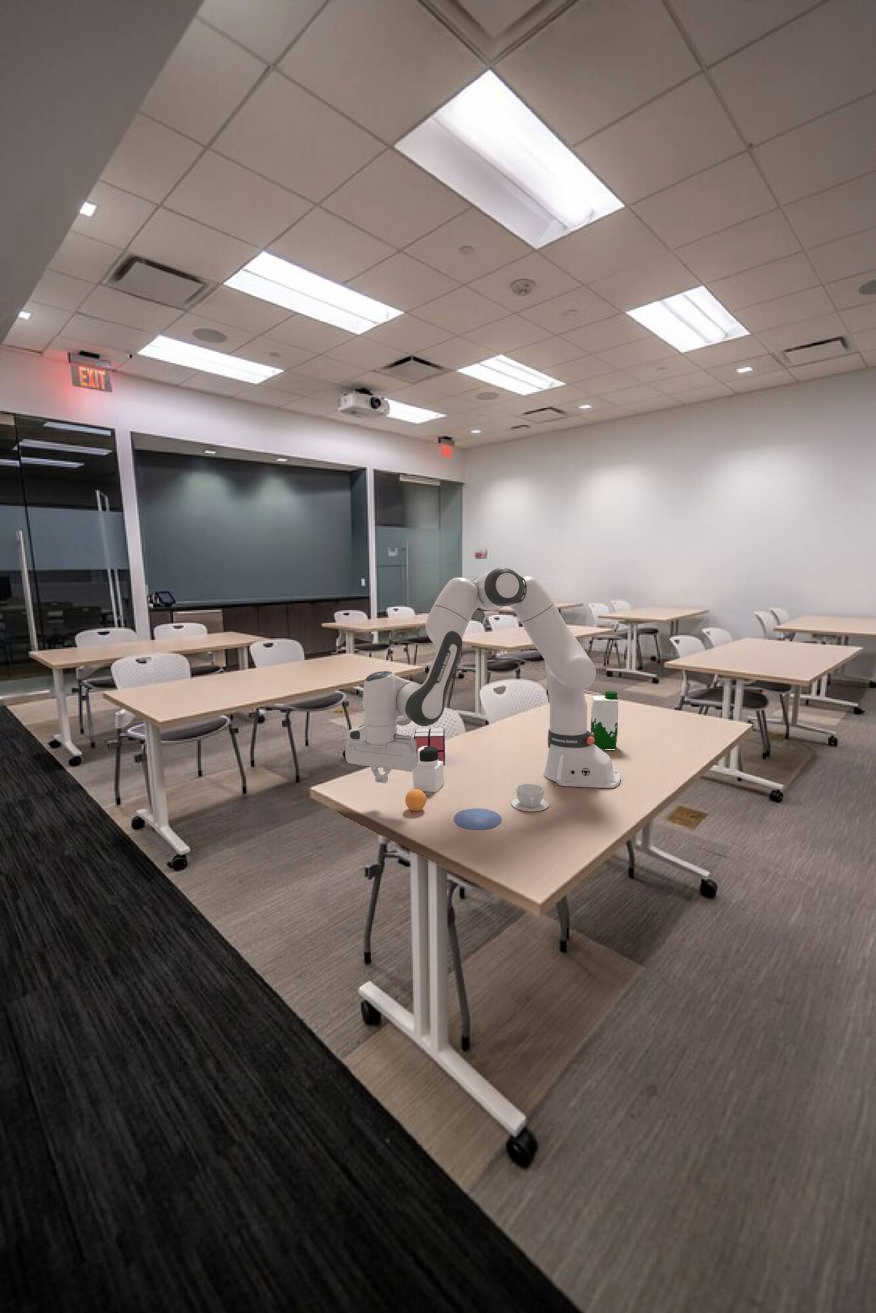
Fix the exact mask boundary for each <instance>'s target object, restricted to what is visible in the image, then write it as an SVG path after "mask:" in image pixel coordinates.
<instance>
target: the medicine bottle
mask: <svg viewBox="0 0 876 1313" xmlns="http://www.w3.org/2000/svg"><path fill="white" fill-rule="evenodd" d="M444 779H445V778H444V765H443V761H438V749H437V748H436V747H433V746H423V747H421V748H419V749H418V763H417V766H416V768H415V769H413V770H412V788H413V789H419V790H421V791H423V792H429V793H437V792H438V791H439V790H440V788H441V787H442V786H443V785H444V782H445V781H444ZM413 789H412V790H413Z"/></svg>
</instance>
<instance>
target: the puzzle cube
mask: <svg viewBox="0 0 876 1313" xmlns="http://www.w3.org/2000/svg"><path fill="white" fill-rule="evenodd" d="M445 733H446V730H445V728H444V727H431V728H429V727H428V728H423V727H422V728H419V727H418V728H415V729H414V736H413V738H414V739H415V741H416V753H417V763H418V749H419V748H421V747H423V746H433V747H436V748H437V749H438V761H443V766H445V765H446V736H445V735H446V734H445Z"/></svg>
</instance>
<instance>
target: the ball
mask: <svg viewBox="0 0 876 1313" xmlns="http://www.w3.org/2000/svg"><path fill="white" fill-rule="evenodd" d="M405 804H406V807H407V808H408V809H409V810H411V811H413V812H418V811H422V809H424V808H425V806H426V804H427V796H426V793H425V791H421V790H419V789H410V790H409V791H408V792H407V794H406V796H405Z"/></svg>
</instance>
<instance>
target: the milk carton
mask: <svg viewBox="0 0 876 1313" xmlns="http://www.w3.org/2000/svg"><path fill="white" fill-rule="evenodd" d="M618 698H619V697H618V691H615V690H614V691H612V690H610V691H609V690H607V691H605V694H604V695H601V694H600V695H592V698H591V699H592V700H591V705H590V706H591V707H590V709H591V710H590V733H592V732H593V735H594V743H593V744H595V745H596V746H597V747H598V748H600V749H615V748H617V742H618V741H617V740H618V733H619V732H618V731H619V730H618V728H619V727H618V726H619V701H618V700H619V699H618Z"/></svg>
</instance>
